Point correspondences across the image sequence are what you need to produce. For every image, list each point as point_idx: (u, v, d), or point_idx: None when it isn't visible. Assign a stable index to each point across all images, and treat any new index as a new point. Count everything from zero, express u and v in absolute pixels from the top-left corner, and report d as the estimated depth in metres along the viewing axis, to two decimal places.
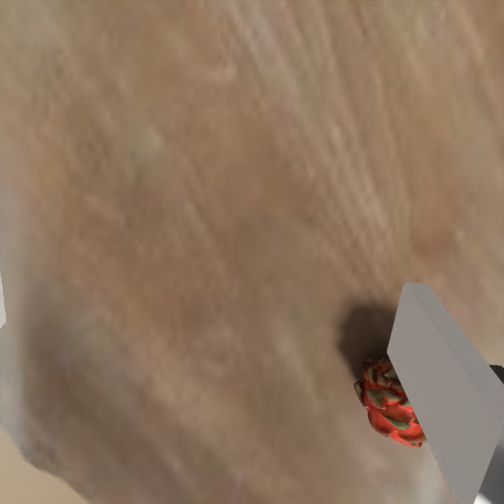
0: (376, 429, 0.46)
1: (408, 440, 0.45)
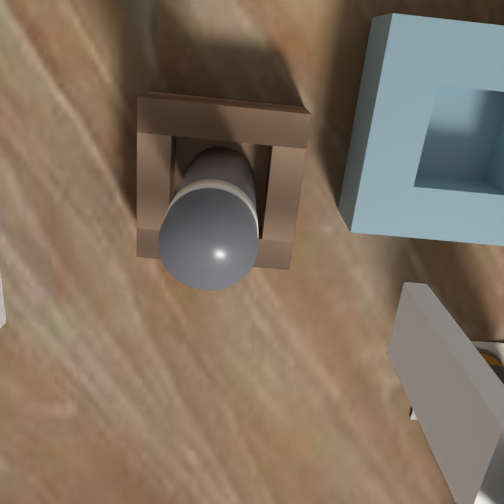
0: None
1: None
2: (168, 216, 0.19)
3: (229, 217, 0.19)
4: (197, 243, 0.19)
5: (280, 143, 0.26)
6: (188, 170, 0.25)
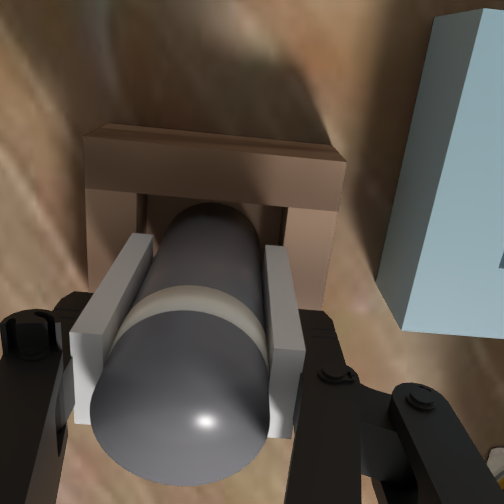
0: None
1: None
2: (106, 374, 0.10)
3: (218, 375, 0.10)
4: (161, 416, 0.11)
5: (299, 204, 0.17)
6: (161, 245, 0.17)
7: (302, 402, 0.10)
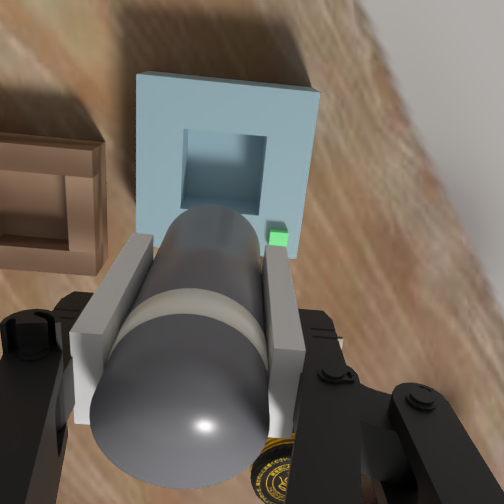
0: None
1: None
2: (106, 377, 0.10)
3: (218, 379, 0.10)
4: (160, 419, 0.11)
5: (70, 173, 0.31)
6: (161, 248, 0.17)
7: (302, 402, 0.10)
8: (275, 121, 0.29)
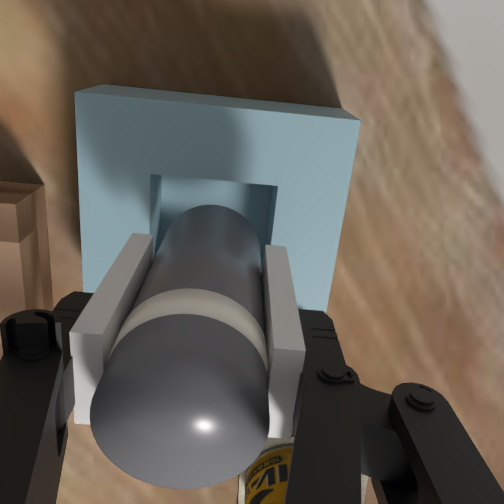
0: None
1: None
2: (106, 377, 0.10)
3: (218, 379, 0.10)
4: (161, 419, 0.11)
5: None
6: (161, 248, 0.17)
7: (302, 402, 0.10)
8: (291, 163, 0.19)
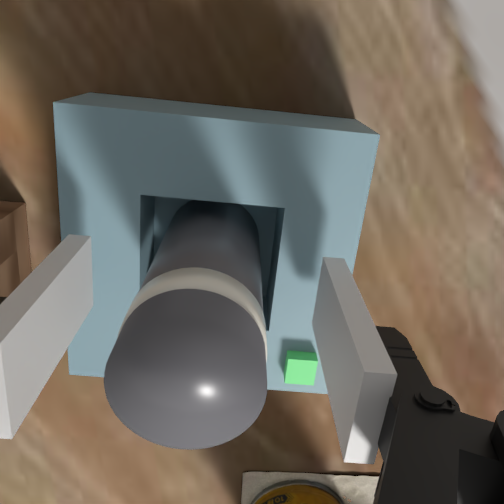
0: None
1: None
2: (119, 344, 0.11)
3: (220, 345, 0.11)
4: (168, 383, 0.12)
5: None
6: (166, 235, 0.18)
7: (396, 425, 0.09)
8: (300, 183, 0.17)
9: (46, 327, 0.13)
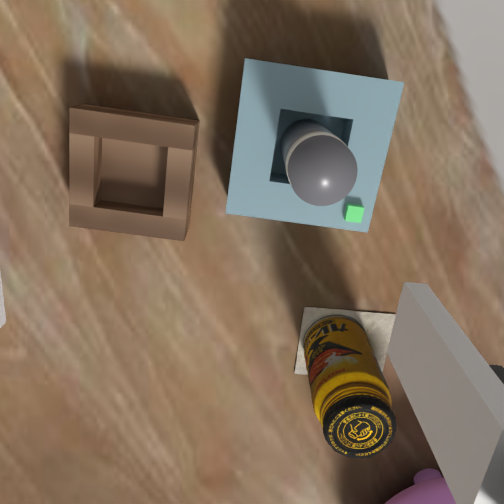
0: None
1: None
2: (299, 150, 0.28)
3: (340, 153, 0.28)
4: (316, 170, 0.28)
5: (173, 145, 0.35)
6: (290, 132, 0.34)
7: None
8: (362, 106, 0.33)
9: None
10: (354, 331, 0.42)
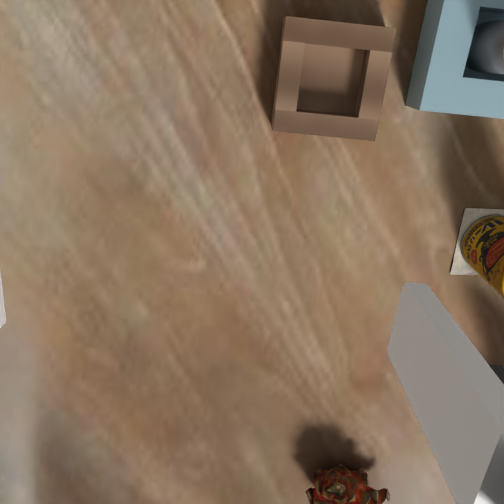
0: None
1: None
2: None
3: None
4: None
5: (375, 48, 0.39)
6: (486, 28, 0.38)
7: None
8: None
9: None
10: None
